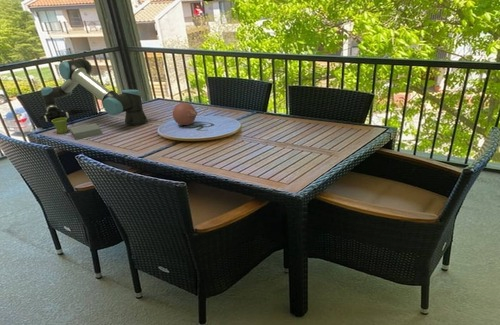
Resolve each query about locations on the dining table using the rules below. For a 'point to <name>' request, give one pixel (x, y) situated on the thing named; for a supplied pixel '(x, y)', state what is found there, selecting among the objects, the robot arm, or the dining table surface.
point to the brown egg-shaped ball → (184, 114)
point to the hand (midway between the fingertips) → (57, 117)
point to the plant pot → (60, 124)
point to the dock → (85, 131)
